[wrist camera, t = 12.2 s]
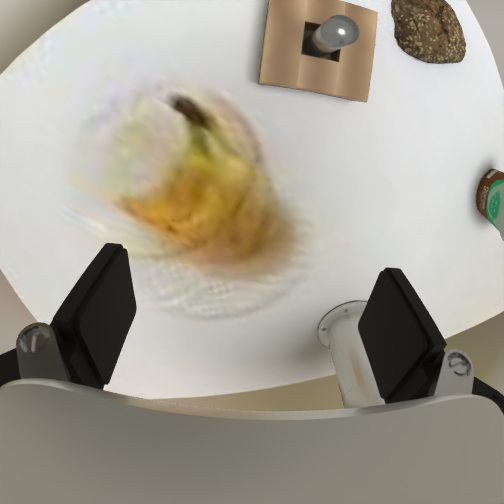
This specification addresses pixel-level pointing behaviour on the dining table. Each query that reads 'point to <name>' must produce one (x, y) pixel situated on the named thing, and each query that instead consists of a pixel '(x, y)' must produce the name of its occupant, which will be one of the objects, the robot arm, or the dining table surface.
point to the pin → (331, 36)
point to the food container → (492, 198)
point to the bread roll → (428, 30)
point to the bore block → (313, 68)
